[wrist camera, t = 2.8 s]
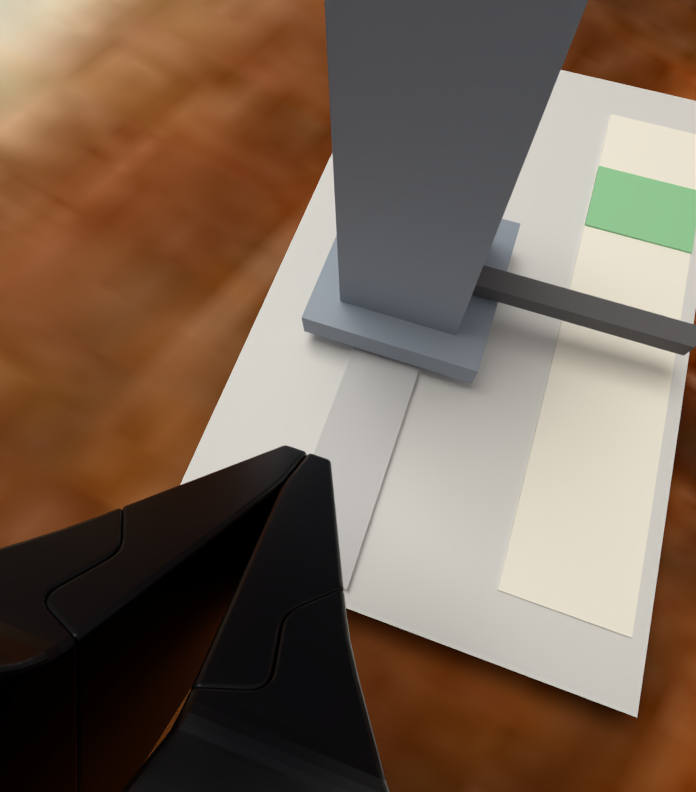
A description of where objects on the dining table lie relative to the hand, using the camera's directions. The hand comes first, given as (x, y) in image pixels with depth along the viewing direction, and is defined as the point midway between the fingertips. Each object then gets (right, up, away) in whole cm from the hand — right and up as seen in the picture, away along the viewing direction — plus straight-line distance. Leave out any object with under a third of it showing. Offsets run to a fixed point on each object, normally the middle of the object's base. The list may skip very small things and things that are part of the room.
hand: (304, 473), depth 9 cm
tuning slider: (+6, +4, +10) cm, 12 cm away
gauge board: (+6, +5, +12) cm, 14 cm away
